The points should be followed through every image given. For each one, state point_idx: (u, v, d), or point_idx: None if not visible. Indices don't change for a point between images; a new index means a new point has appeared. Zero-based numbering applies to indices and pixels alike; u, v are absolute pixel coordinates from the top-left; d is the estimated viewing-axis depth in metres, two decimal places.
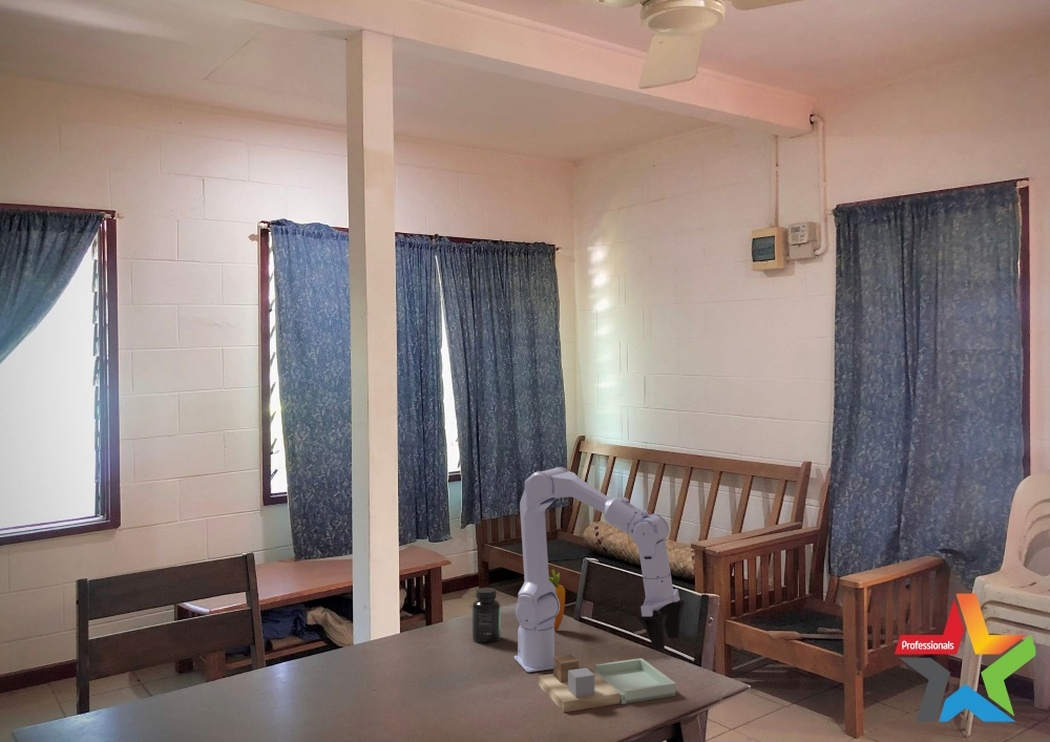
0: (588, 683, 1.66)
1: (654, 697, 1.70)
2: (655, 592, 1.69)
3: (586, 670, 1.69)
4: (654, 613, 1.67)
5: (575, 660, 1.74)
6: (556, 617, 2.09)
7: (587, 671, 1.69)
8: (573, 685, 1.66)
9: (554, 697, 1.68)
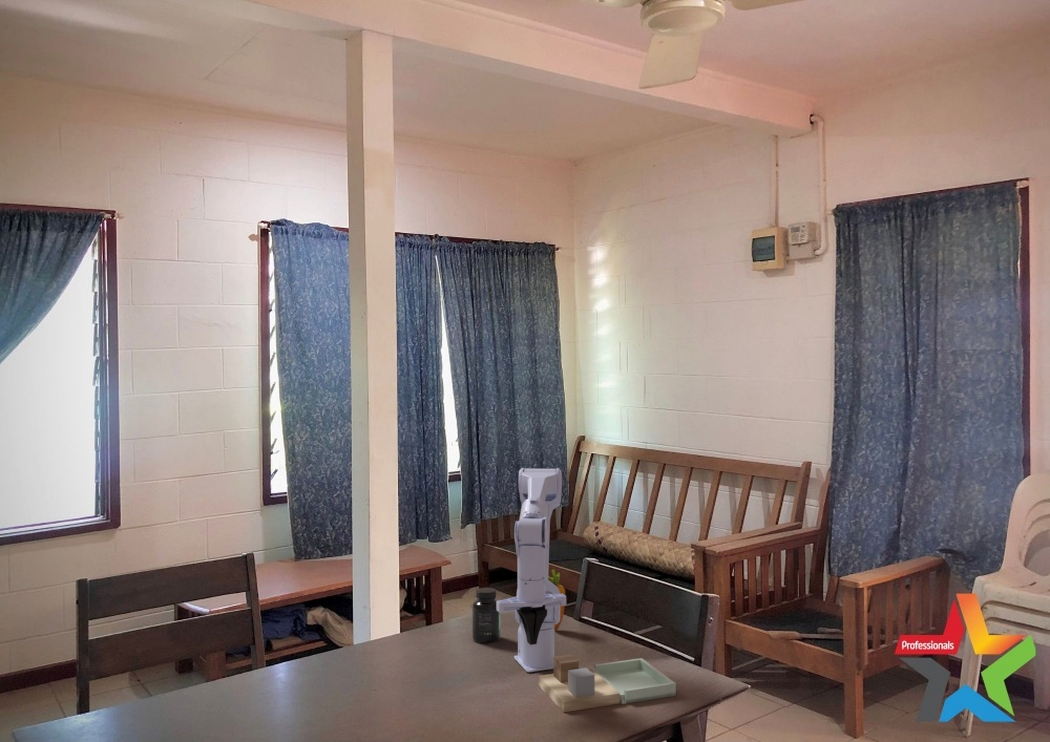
0: (588, 683, 1.66)
1: (654, 697, 1.70)
2: (519, 592, 1.71)
3: (586, 670, 1.69)
4: (524, 609, 1.71)
5: (575, 660, 1.74)
6: None
7: (587, 671, 1.69)
8: (573, 685, 1.66)
9: (554, 697, 1.68)
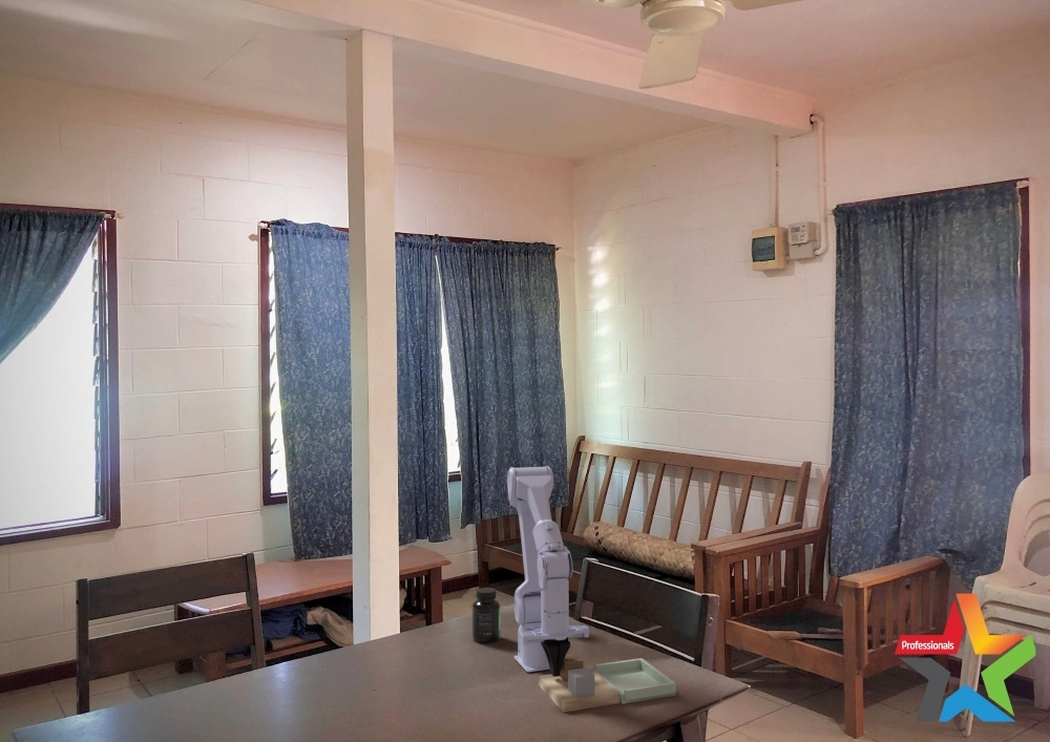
0: (588, 683, 1.66)
1: (654, 697, 1.70)
2: (543, 624, 1.73)
3: (586, 670, 1.69)
4: (548, 641, 1.73)
5: (580, 660, 1.75)
6: None
7: (587, 671, 1.69)
8: (573, 685, 1.66)
9: (554, 697, 1.68)
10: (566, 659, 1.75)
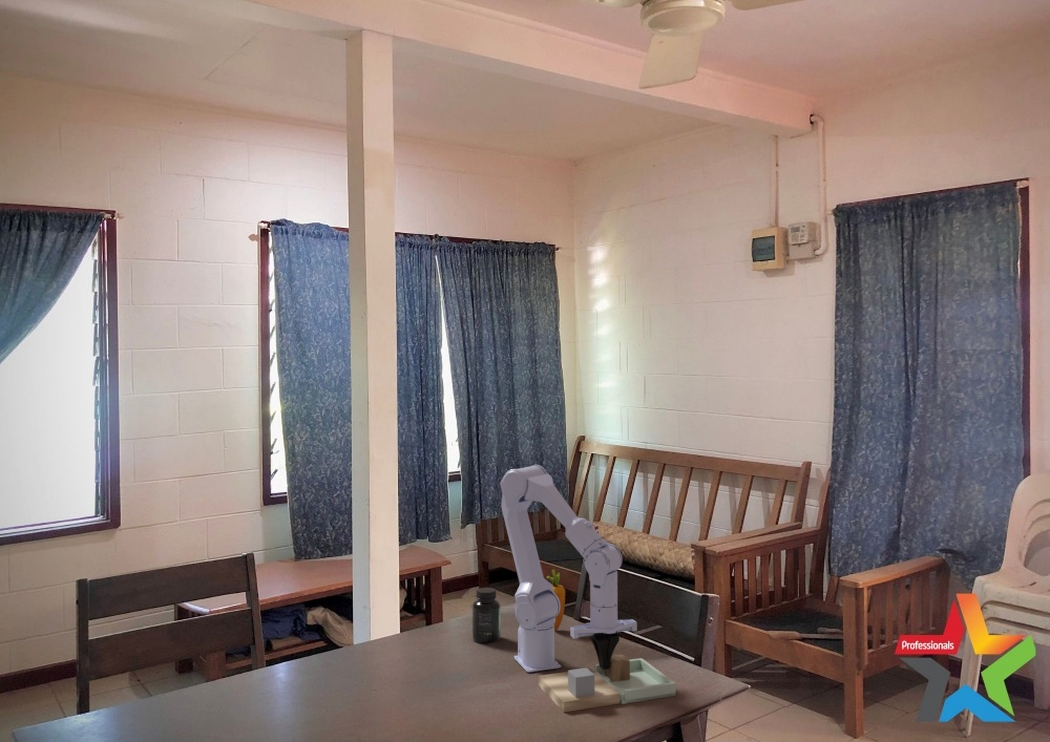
0: (588, 683, 1.66)
1: (654, 697, 1.70)
2: (592, 618, 1.77)
3: (586, 670, 1.69)
4: (597, 635, 1.77)
5: None
6: (556, 617, 2.09)
7: (587, 671, 1.69)
8: (573, 685, 1.66)
9: (554, 697, 1.68)
10: None
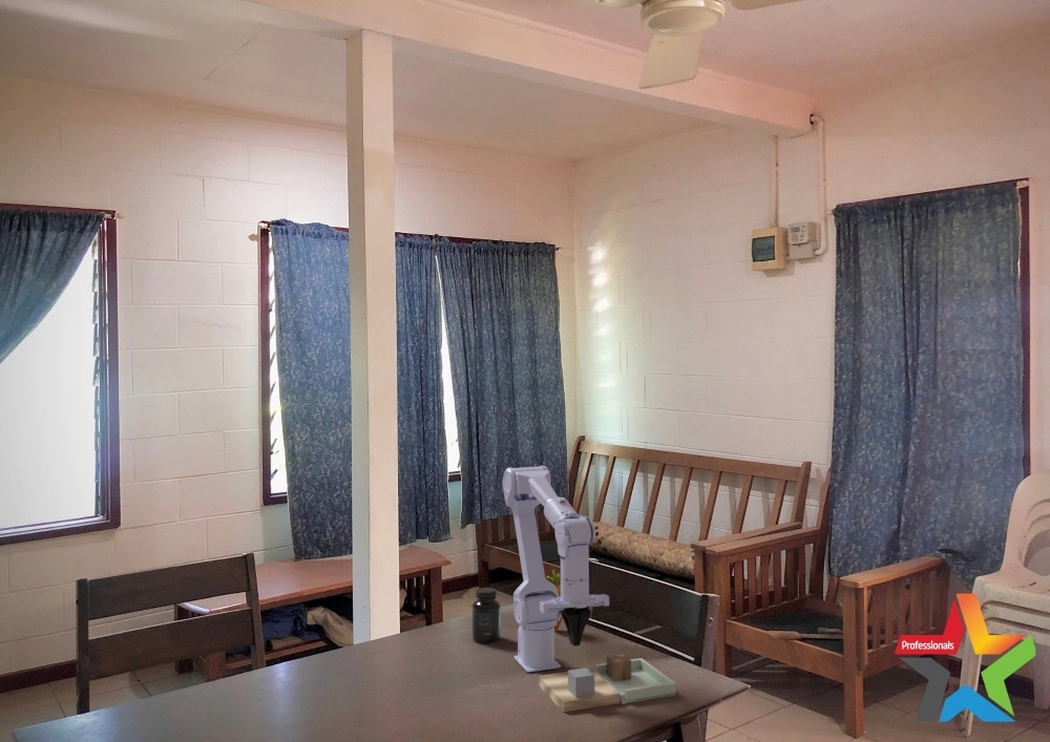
0: (588, 683, 1.66)
1: (654, 697, 1.70)
2: (563, 592, 1.70)
3: (586, 670, 1.69)
4: (568, 610, 1.70)
5: None
6: None
7: (587, 671, 1.69)
8: (573, 685, 1.66)
9: (554, 697, 1.68)
10: None
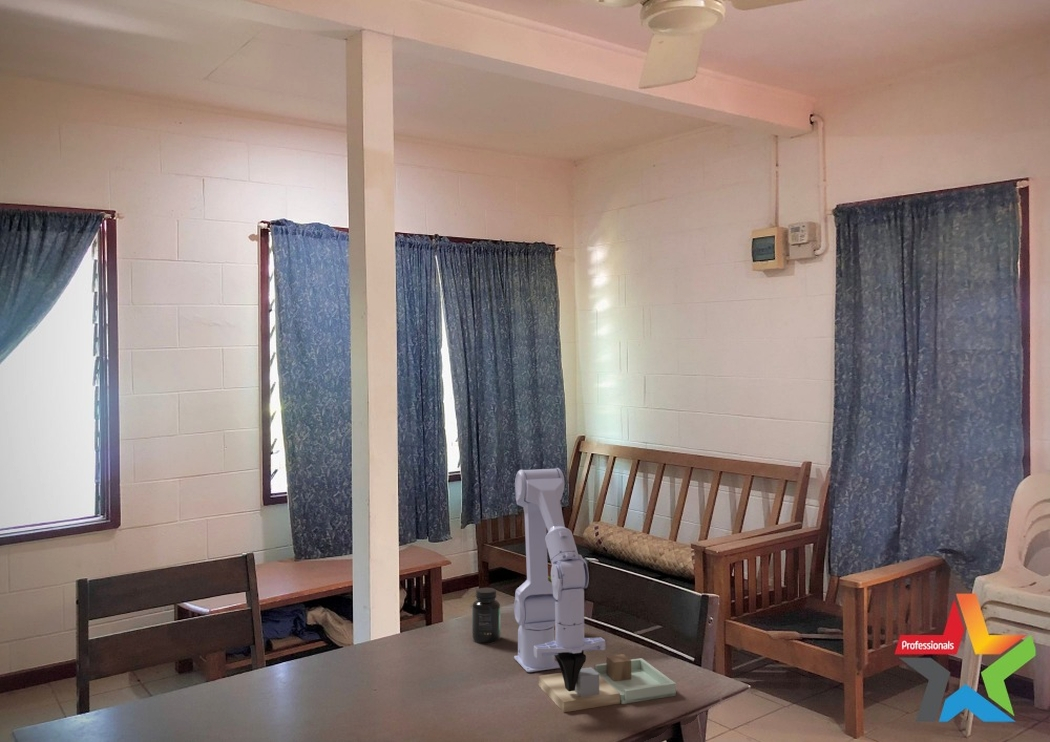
0: (593, 682, 1.67)
1: (654, 697, 1.70)
2: (557, 637, 1.65)
3: (591, 669, 1.69)
4: (563, 654, 1.66)
5: None
6: None
7: (591, 670, 1.69)
8: (578, 684, 1.67)
9: (554, 697, 1.68)
10: None
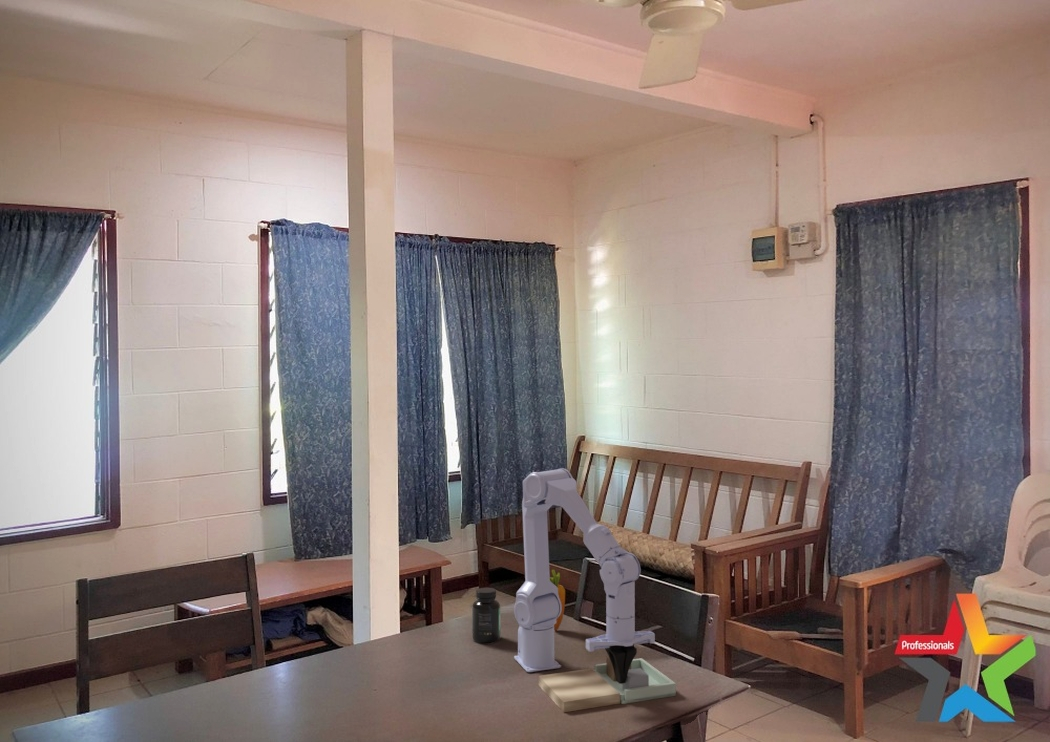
0: None
1: (654, 697, 1.70)
2: (609, 630, 1.69)
3: None
4: (614, 647, 1.69)
5: None
6: None
7: None
8: (638, 674, 1.70)
9: (554, 697, 1.68)
10: None
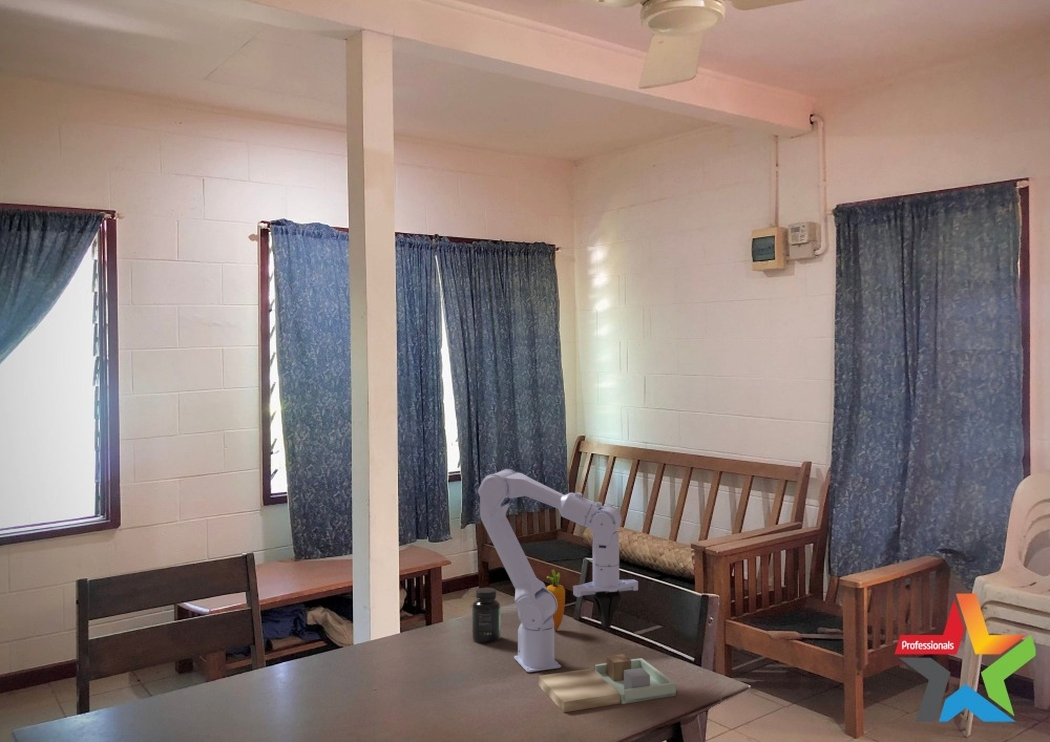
0: None
1: (654, 697, 1.70)
2: (595, 577, 1.81)
3: None
4: (599, 593, 1.81)
5: None
6: (556, 617, 2.09)
7: None
8: (639, 674, 1.71)
9: (554, 697, 1.68)
10: None
